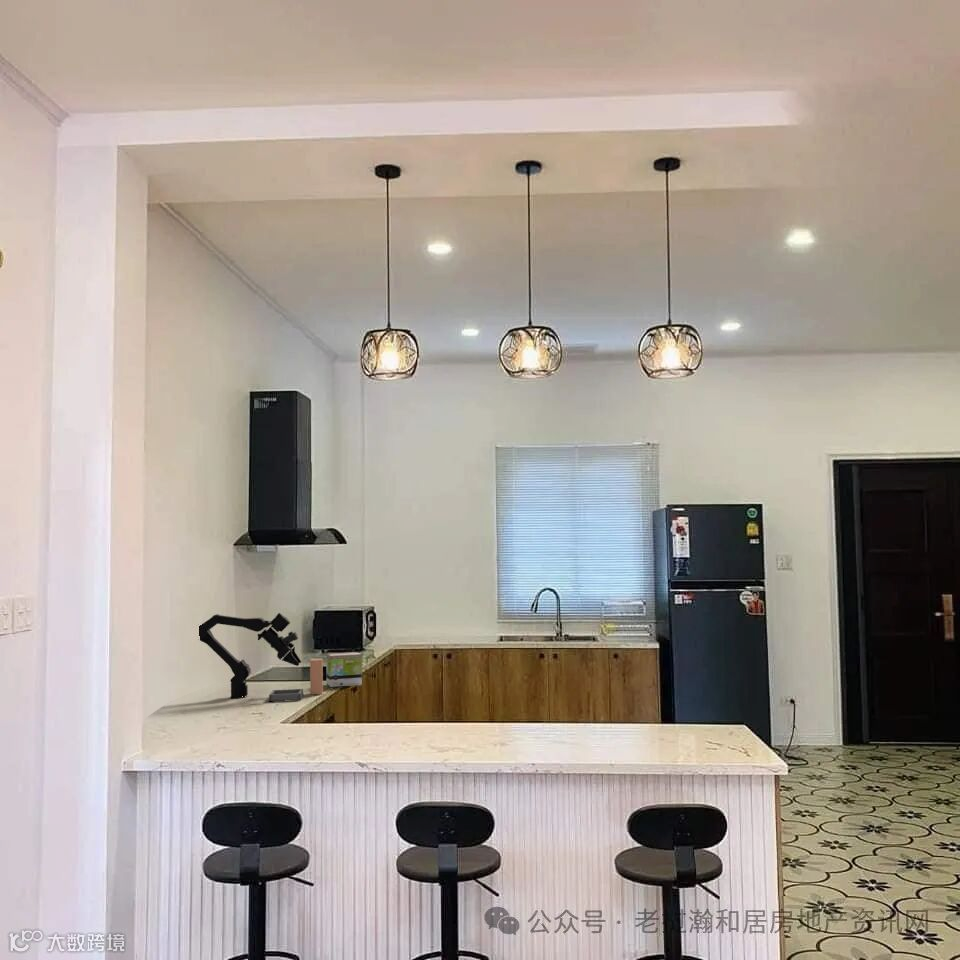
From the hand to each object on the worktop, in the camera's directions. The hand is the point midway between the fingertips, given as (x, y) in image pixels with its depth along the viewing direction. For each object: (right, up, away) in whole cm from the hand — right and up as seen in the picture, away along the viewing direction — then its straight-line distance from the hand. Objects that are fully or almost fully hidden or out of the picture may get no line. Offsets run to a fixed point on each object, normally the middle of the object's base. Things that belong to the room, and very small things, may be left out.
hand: (299, 663), depth 393 cm
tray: (-3, -13, -12) cm, 18 cm away
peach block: (+8, -13, 0) cm, 15 cm away
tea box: (+16, -15, +23) cm, 32 cm away
